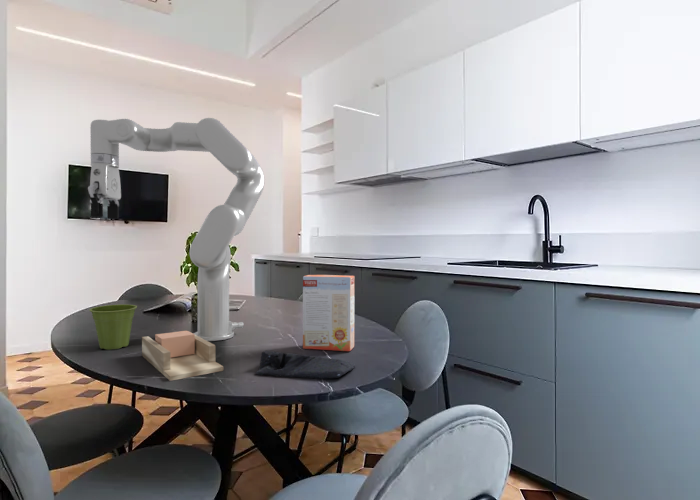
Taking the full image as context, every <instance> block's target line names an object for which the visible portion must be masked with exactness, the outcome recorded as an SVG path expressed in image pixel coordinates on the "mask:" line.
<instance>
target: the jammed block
mask: <svg viewBox="0 0 700 500" xmlns="http://www.w3.org/2000/svg"><path fill="white" fill-rule="evenodd" d="M193 333H194V332H193ZM193 333H192V332H191V331H189V330H181V331H172V332H165V333H156V334H154V338H155V339H154V341H156V342H157V343H158V344H160V345H161V346H163V347H164V348H165V349H167V350H168V351H170V358H171V357H178V356H184V355H190V354H195V334H193Z"/></svg>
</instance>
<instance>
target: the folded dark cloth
mask: <svg viewBox="0 0 700 500" xmlns="http://www.w3.org/2000/svg"><path fill="white" fill-rule="evenodd" d="M260 355H261V357H260V362H259V369H258V370H256V372H255V374H256V375H259V376H272V377H278V378H279V377H285V378H304V379H305V378H307V379H320V380H322V379H323V380H324V379H327V380H328V379H337V378H341V377H342V376H343V375H346V373H348V372H350V371H352V370H354V369H355V368H356V363H354V362H353V361H350V360H345V359H337V358H331V357H330V358H329V357H321V356H313V355H312V356H311V355H307V354H296V353H288V352H287V353H286V352H285V353H284V352H279V351H271V350H270V351H269V350H264V351H262V352H261V354H260Z"/></svg>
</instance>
